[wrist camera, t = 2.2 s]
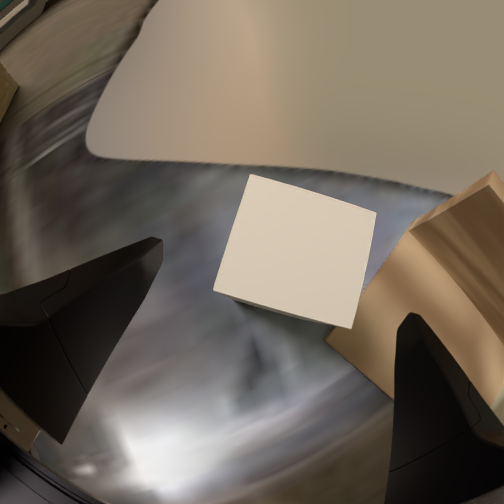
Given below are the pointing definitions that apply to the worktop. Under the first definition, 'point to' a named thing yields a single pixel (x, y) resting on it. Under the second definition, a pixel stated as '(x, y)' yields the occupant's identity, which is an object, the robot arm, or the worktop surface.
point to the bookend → (297, 253)
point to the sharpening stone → (17, 17)
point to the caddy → (6, 90)
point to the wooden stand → (440, 293)
